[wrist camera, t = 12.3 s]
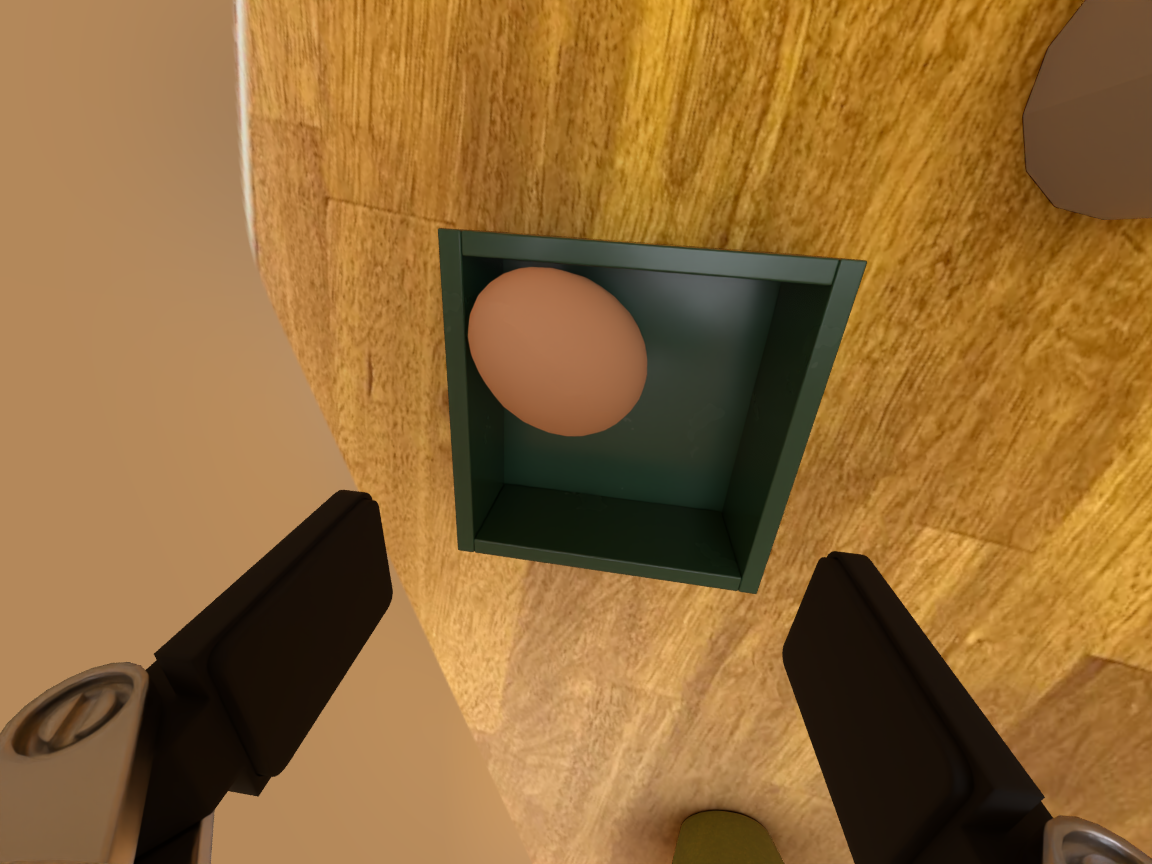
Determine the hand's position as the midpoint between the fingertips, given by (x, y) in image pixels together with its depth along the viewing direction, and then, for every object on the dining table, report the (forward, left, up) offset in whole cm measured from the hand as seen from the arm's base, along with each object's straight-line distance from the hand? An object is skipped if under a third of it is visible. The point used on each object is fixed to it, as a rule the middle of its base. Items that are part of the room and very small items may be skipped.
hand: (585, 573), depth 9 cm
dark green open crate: (0, 0, -13) cm, 13 cm away
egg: (0, 0, -12) cm, 12 cm away
